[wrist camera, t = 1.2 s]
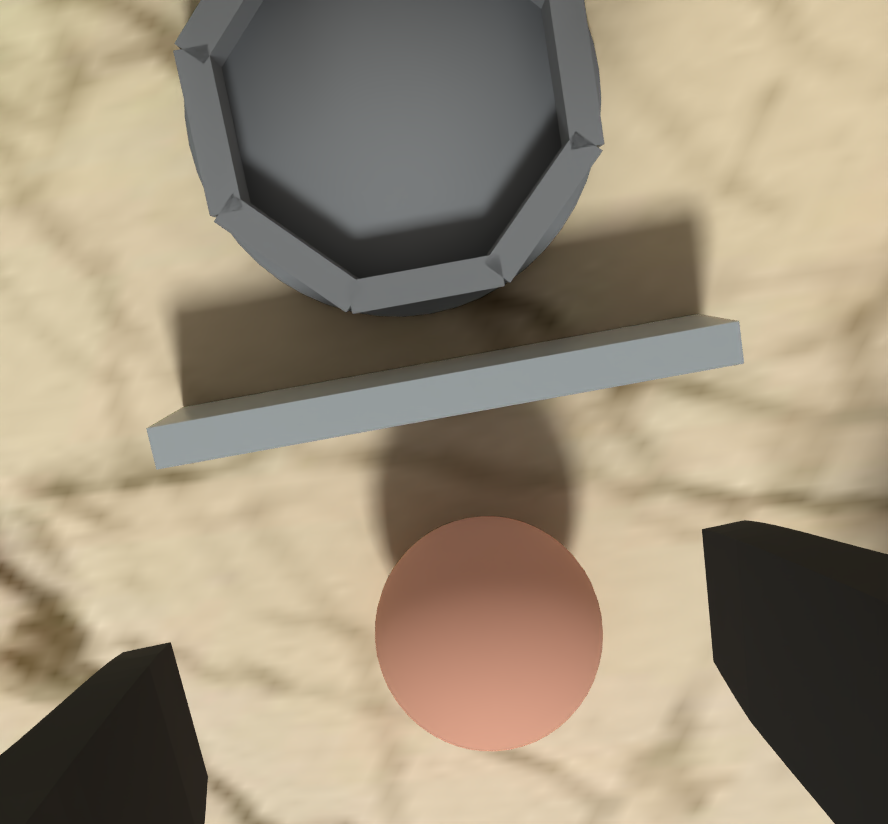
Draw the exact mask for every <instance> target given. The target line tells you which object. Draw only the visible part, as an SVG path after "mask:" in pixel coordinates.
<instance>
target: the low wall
mask: <svg viewBox="0 0 888 824" xmlns="http://www.w3.org/2000/svg"><path fill="white" fill-rule="evenodd" d="M743 363H744V359H743V351H742V342H741V333H740V325H739V321H735V320H730V319H724V318H718V317H712V316H706V315H700V314H695V315H689V316H684V317H678V318H673V319H667V320H662V321H656V322H651V323H645V324H640V325H634V326H629V327H623V328H617V329H612V330H606V331H601V332H595V333H590V334H584V335H579V336H573V337H568V338H562V339H557V340H551V341H546V342H540V343H535V344H529V345H524V346H518V347H513V348H507V349H502V350H496V351H491V352H485V353H479V354H474V355H468V356H463V357H457V358H452V359H446V360H441V361H435V362H430V363H424V364H419V365H413V366H408V367H402V368H397V369H391V370H386V371H380V372H375V373H369V374H364V375H358V376H353V377H347V378H341V379H336V380H330V381H325V382H319V383H314V384H308V385H303V386H297V387H292V388H286V389H281V390H275V391H270V392H264V393H259V394H253V395H248V396H242V397H237V398H231V399H226V400H220V401H215V402H209V403H203V404H198V405H192V406H187V407H182V408H181V409H179V410H177V411H176V412H174V413H172V414H170V415H169V416H167V417H165V418H163V419H162V420H160V421H158V422H157V423H155V424H153V425H151V426H150V427H148V428H146V429H147V433H148V437H149V441H150V445H151V449H152V453H153V457H154V461H155V465H156V469H162V468H167V467H173V466H179V465H184V464H190V463H195V462H201V461H206V460H212V459H217V458H223V457H228V456H234V455H239V454H245V453H250V452H256V451H262V450H267V449H273V448H278V447H284V446H289V445H295V444H300V443H306V442H311V441H317V440H322V439H328V438H334V437H339V436H345V435H350V434H356V433H361V432H367V431H372V430H378V429H383V428H389V427H394V426H400V425H405V424H411V423H417V422H422V421H428V420H433V419H439V418H444V417H450V416H455V415H461V414H466V413H472V412H477V411H483V410H488V409H494V408H500V407H505V406H511V405H516V404H522V403H527V402H533V401H538V400H544V399H549V398H555V397H560V396H566V395H572V394H577V393H583V392H588V391H594V390H599V389H605V388H610V387H616V386H621V385H627V384H632V383H638V382H643V381H649V380H655V379H660V378H666V377H671V376H677V375H682V374H688V373H693V372H699V371H704V370H710V369H715V368H721V367H727V366H732V365H738V364H743Z"/></svg>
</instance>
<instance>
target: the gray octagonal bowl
mask: <svg viewBox="0 0 888 824" xmlns="http://www.w3.org/2000/svg"><path fill="white" fill-rule="evenodd" d="M175 44H176V45H177V46H178V47H179V48H180V49H179V50H174V51H173V52H174V56H175V61H176V65H177V70H178V74H179V79H180V83H181V88H182V92H183V97H184V107H185V121H186V127H187V134H188V140H189V146H190V149H191V153H192V156H193V159H194V163H195V166H196V170H197V173H198V175H199V178H200V180H201V182H202V185H203V187H204V191H205V196H206V200H207V205H208V209H209V214H210V216H213V217H217V218H216V219H215V221H214V222H215V223H217V224H218V225H219V226H221V227H222V228H224V229H225V230H227V231H228V232H230V233H231V234H232V235H233V237H234V238H235V239H236V241H237V242H238V243H239V244H240V245H241V246H242V247H243V248H244V249H245V251H246V252H247V253H248V254H249V255H250V256H251V257H252V258H253V259H254V260H255V261H256V262H257V263H258V264H260V265H261V266H262V267H263V268H265V269H266V270H267V271H269V272H270V273H271V274H272V275H274V276H275V277H276V278H277V279H279V280H280V281H282V282H283V283H285V284H287V285H288V286H290V287H292V288H293V289H295V290H297V291H298V292H300V293H302V294H304V295H306V296H308V297H311V298H313V299H315V300H318V301H320V302H322V303H324V304H327V305H330V306H333V307H337V308H340V309H342V310H343V311H345V312H347V311H351V312H352V314H354V313H362V314H369V315H376V316H413V315H422V314H431V313H435V312H439V311H443V310H447V309H451V308H455V307H458V306H461V305H463V304H466V303H468V302H471V301H473V300H476V299H478V298H481V297H483V296H484V295H486V294H488V293H490V292H492V291H493V290H495V289H497V288H499V287H503V286H505V285H504V284H505V283H507V282H511V281H512V279H513V278H514V277H515V276H516V275H518V274H519V273H520V272H522V271H523V270H524V269H526V268H527V267H528V266H529V265H530V264H531V263H532V262H533V261H534V260H535V259H536V258H537V257H538V256H539V255H540V254H541V253H542V252H543V251H544V250H545V249H546V248H547V246H548V245H549V244H550V243H551V241H552V240H553V239H554V238H555V236H556V235H557V234H558V233H559V231H560V230H561V229H562V227H563V226H564V224H565V222H566V221H567V219H568V217H569V216H570V214H571V212H572V211H573V209H574V208H575V206H576V204H577V201H578V199H579V197H580V195H581V193H582V190H583V188H584V186H585V184H586V181H587V178H588V175H589V172H590V169H591V167H592V165H593V164H594V162H595V161H596V159H597V158H598V157H599V155H600V154H601V152H602V150H601V149H600V148H599V147H600V146H602V145H603V144H604V138H603V131H602V124H601V117H600V111H601V90H600V77H599V68H598V63H597V58H596V53H595V48H594V43H593V40H592V37H591V34H590V31H589V28H588V24H587V17H586V10H585V3H584V0H201V1H200V2H199V4H198V6H197V7H196V9H195V11H194V12H193V14H192V16H191V17H190V19H189V20H188V22H187V24H186V25H185V27H184V29H183V30H182V32H181V33H180V35H179V37H178V38H177V40H176V42H175Z"/></svg>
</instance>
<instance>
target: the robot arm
mask: <svg viewBox="0 0 888 824" xmlns="http://www.w3.org/2000/svg"><path fill="white" fill-rule="evenodd" d="M702 535H703V547H704V558H705V569H706V581H707V592H708V603H709V615H710V626H711V637H712V649H713V660H714V663H715V665H716V666H717V668H718V670H719V671H720V673H721V675H722V676H723V678H724V680H725V681H726V683H727V685H728V687H729V688H730V690H731V692H732V693H733V695H734V696H735V698H736V700H737V701H738V703H739V704H740V706H741V707H742V709H743V711H744V712H745V714H746V715H747V717H748V718H749V720H750V721H751V723H752V724H753V725H754V726H755V728H756V729H757V730H758V731H759V733H760V734H761V735H762V736H763V738H764V739H765V740H766V741H767V743H768V744H769V745H770V746H771V747H772V749H773V750H774V751H775V752H776V754H777V755H778V756H779V757H780V758H781V760H782V761H783V762H784V763H785V765H786V766H787V767H788V768H789V769H790V771H791V772H792V773H793V774H794V775H795V777H796V778H797V779H798V780H799V781H800V783H801V784H802V785H803V786H804V787H805V789H806V790H807V791H808V792H809V793H810V795H811V796H812V797H813V798H814V799H815V800H816V802H817V803H818V804H819V805H820V806H821V808H822V809H823V810H824V811H825V812H826V814H827V815H828V816H829V817H830V818H831V820H832V821H833V822H834V823H835V824H888V554H884V553H880V552H876V551H872V550H869V549H865V548H861V547H857V546H853V545H850V544H846V543H842V542H838V541H835V540H831V539H827V538H823V537H820V536H816V535H812V534H808V533H804V532H801V531H797V530H793V529H789V528H784V527H780V526H776V525H771V524H766V523H761V522H754V521H746V520H744V521H739V522H734V523H730V524H725V525H720V526H716V527H711V528H706V529H702ZM207 782H208V775H207V772H206V768H205V765H204V761H203V757H202V754H201V750H200V747H199V743H198V739H197V736H196V732H195V728H194V725H193V721H192V718H191V714H190V710H189V707H188V703H187V699H186V696H185V692H184V689H183V685H182V681H181V678H180V674H179V670H178V667H177V663H176V660H175V656H174V652H173V649H172V645H171V642H170V643H165V644H160V645H155V646H151V647H146V648H141V649H137V650H132V651H127V652H123V653H121V654H120V655H118V656H117V657H115V658H114V659H112V660H111V661H110V662H109V663H107V664H106V665H105V666H103V667H102V668H101V669H100V670H99V671H97V672H96V673H95V674H94V675H93V676H91V677H90V678H89V679H88V680H87V681H86V682H85V683H83V684H82V685H81V686H80V687H79V688H78V689H76V690H75V691H74V692H73V693H72V694H71V695H70V696H69V697H67V698H66V699H65V700H64V701H63V702H62V703H61V704H59V705H58V706H57V707H56V708H55V709H54V710H53V711H51V712H50V713H49V714H48V715H47V716H46V717H45V718H43V719H42V720H41V721H40V722H39V723H38V724H37V725H35V726H34V727H33V728H32V729H31V730H30V731H29V732H27V733H26V734H25V735H24V736H23V737H22V738H20V739H19V740H18V741H17V742H16V743H15V744H13V745H12V746H11V747H10V748H8V749H7V750H6V751H5V752H4V753H2V754H1V755H0V824H204V823H205V811H206V796H207Z"/></svg>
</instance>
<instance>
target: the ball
mask: <svg viewBox="0 0 888 824" xmlns="http://www.w3.org/2000/svg"><path fill="white" fill-rule="evenodd" d="M602 641H603V629H602V617H601V612H600V608H599V603H598V600H597V597H596V594H595V592H594V589H593V587H592V584H591V582H590V580H589V578H588V576H587V575H586V573H585V571H584V570H583V568H582V567H581V566H580V564H579V563H578V562H577V560H576V559H575V558H574V556H573V555H572V554H571V553H570V552H569V551H568V550H567V549H566V548H565V547H564V546H563V545H562V544H561V543H560V542H558V541H557V540H556V539H554V538H553V537H552V536H550V535H548V534H547V533H545V532H543V531H542V530H540V529H538V528H536V527H534V526H532V525H529V524H527V523H525V522H522V521H518V520H514V519H511V518H504V517H497V516H479V517H470V518H465V519H461V520H457V521H453V522H451V523H448V524H445V525H443V526H441V527H439V528H437V529H435V530H433V531H431V532H429V533H428V534H426V535H425V536H424V537H422V538H421V539H420V540H418V541H417V542H416V543H415V544H414V545H413V546H412V547H411V548H409V549H408V550H407V552H406V553H405V554H404V555H403V556H402V558H401V559H400V560H399V561H398V563H397V564H396V565H395V567H394V568H393V570H392V572H391V573H390V575H389V577H388V579H387V581H386V583H385V586H384V588H383V591H382V594H381V597H380V601H379V604H378V608H377V614H376V621H375V643H376V650H377V657H378V660H379V664H380V667H381V671H382V674H383V676H384V679H385V681H386V683H387V686H388V688H389V690H390V691H391V693H392V695H393V696H394V698H395V699H396V701H397V702H398V704H399V705H400V706H401V707H402V709H403V710H404V711H405V712H406V713H407V715H408V716H409V717H410V718H411V719H412V720H413V721H415V722H416V723H417V724H418V725H419V726H420V727H422V728H423V729H425V730H426V731H427V732H429V733H430V734H432V735H434V736H436V737H438V738H439V739H441V740H443V741H445V742H448V743H450V744H453V745H455V746H458V747H462V748H466V749H471V750H479V751H501V750H510V749H514V748H518V747H522V746H525V745H528V744H530V743H533V742H536V741H538V740H540V739H541V738H543V737H545V736H547V735H549V734H550V733H552V732H553V731H555V730H556V729H557V728H559V727H560V726H561V725H562V724H563V723H564V722H566V721H567V720H568V719H569V718H570V716H571V715H572V714H573V713H574V712H575V711H576V710H577V708H578V707H579V706H580V705H581V703H582V702H583V700H584V699H585V697H586V696H587V694H588V692H589V690H590V688H591V686H592V684H593V682H594V679H595V676H596V673H597V670H598V667H599V663H600V658H601V653H602Z"/></svg>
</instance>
